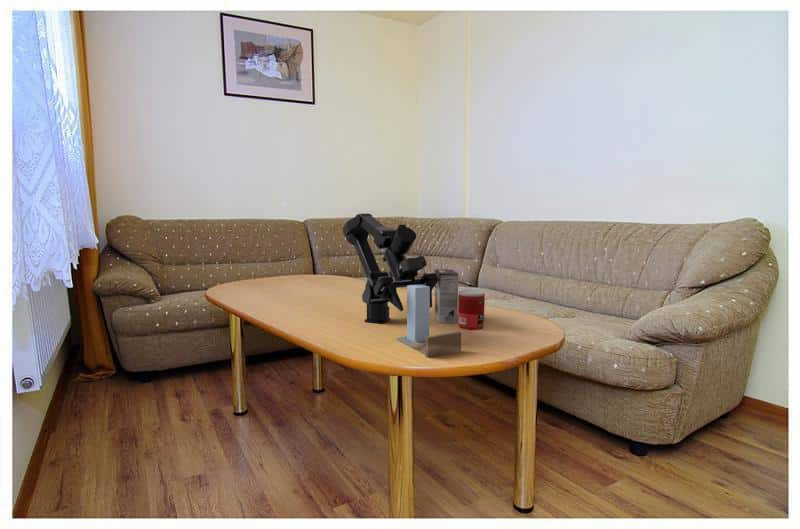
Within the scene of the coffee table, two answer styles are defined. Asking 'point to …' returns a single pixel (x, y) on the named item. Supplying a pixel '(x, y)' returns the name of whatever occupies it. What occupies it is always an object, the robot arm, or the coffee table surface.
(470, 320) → the canned food
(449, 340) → the brown slab
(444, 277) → the coffee box
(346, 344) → the coffee table surface
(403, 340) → the pad
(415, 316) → the block
